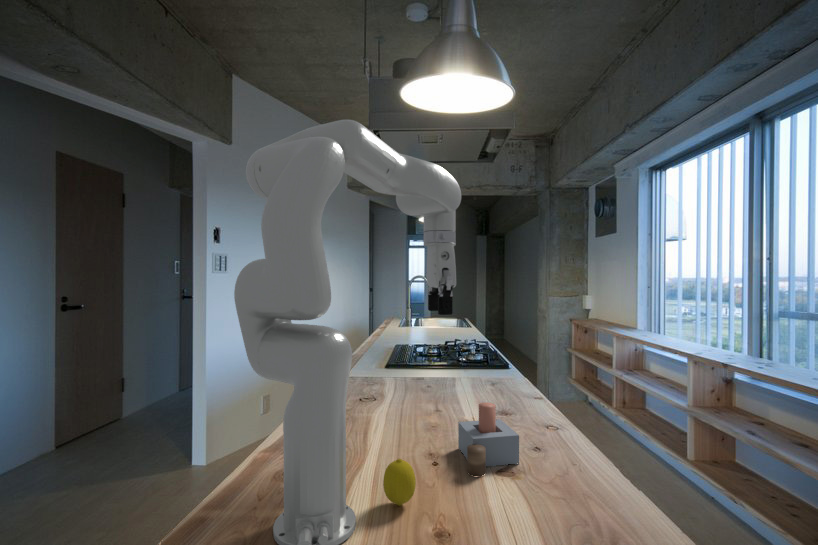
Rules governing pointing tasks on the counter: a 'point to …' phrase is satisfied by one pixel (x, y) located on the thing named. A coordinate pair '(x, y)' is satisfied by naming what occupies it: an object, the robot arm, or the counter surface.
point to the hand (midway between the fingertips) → (439, 312)
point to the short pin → (476, 460)
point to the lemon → (399, 482)
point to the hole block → (491, 442)
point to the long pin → (487, 418)
